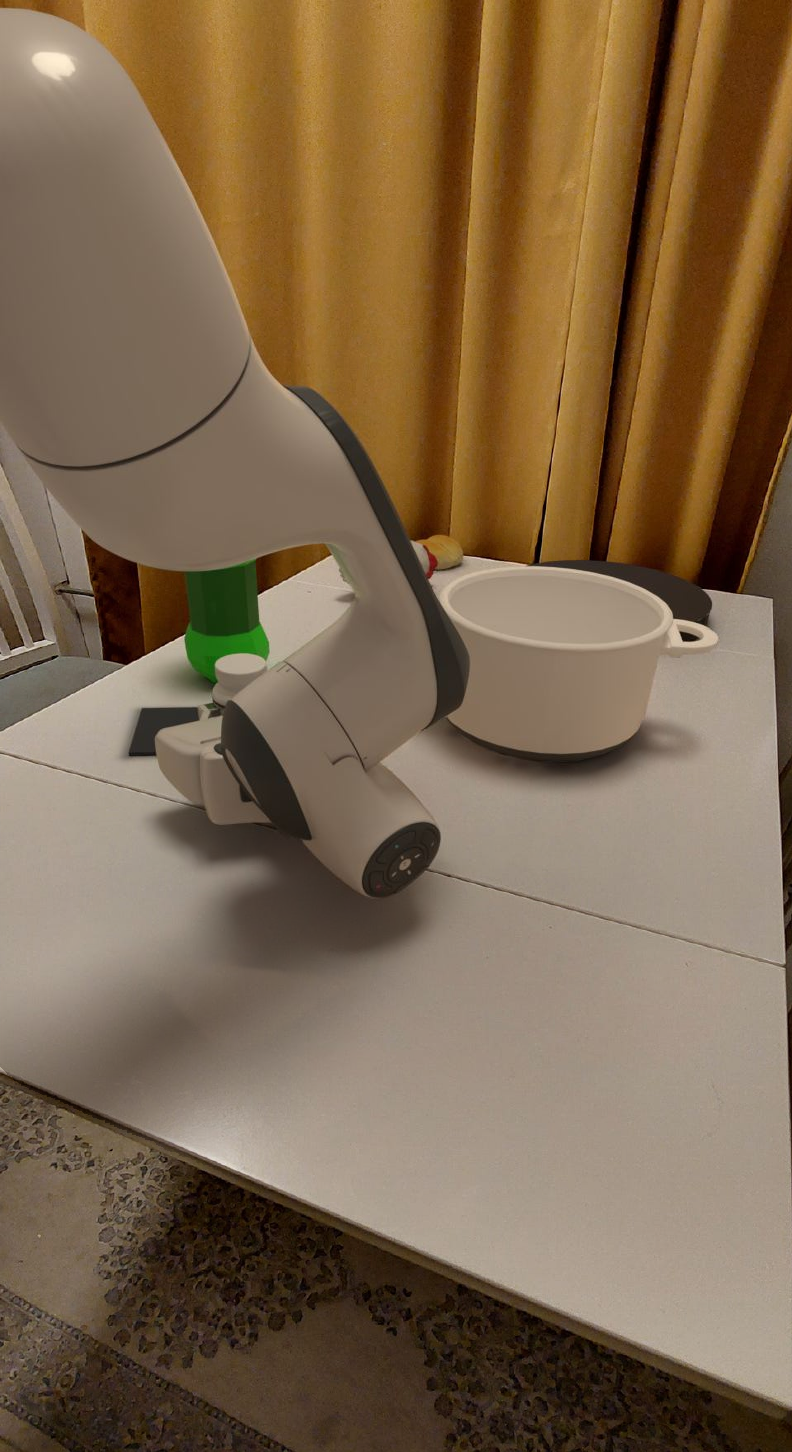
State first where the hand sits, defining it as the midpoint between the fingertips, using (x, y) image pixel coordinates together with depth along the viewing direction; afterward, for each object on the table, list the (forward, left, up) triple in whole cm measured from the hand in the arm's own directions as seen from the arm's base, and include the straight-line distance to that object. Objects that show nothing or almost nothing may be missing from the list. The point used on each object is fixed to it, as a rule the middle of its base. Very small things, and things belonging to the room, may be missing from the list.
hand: (240, 703), depth 79 cm
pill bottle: (0, -1, -6) cm, 6 cm away
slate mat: (-2, +7, -6) cm, 9 cm away
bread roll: (+28, +65, -7) cm, 71 cm away
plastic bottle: (-3, +21, -7) cm, 22 cm away
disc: (+49, +42, -7) cm, 65 cm away
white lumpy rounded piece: (+20, +49, -7) cm, 53 cm away
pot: (+31, +7, -6) cm, 33 cm away
